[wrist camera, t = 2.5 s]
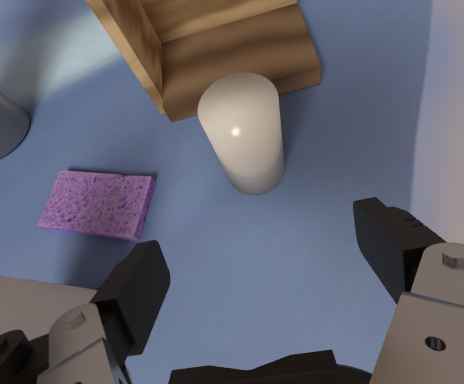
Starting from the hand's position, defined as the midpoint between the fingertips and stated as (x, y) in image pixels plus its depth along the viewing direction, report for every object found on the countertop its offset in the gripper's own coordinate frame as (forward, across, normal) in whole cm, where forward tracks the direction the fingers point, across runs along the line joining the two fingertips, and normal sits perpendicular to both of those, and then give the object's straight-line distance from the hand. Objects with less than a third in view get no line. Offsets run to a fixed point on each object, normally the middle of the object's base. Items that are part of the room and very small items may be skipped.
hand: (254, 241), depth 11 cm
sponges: (+19, +18, +3) cm, 26 cm away
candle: (+18, 0, +2) cm, 19 cm away
